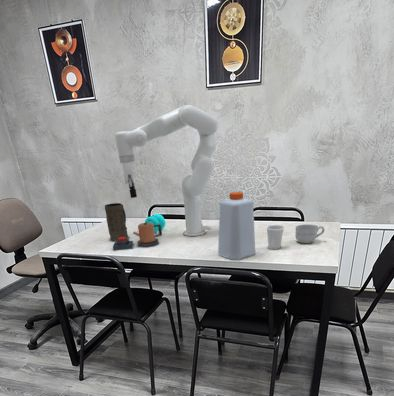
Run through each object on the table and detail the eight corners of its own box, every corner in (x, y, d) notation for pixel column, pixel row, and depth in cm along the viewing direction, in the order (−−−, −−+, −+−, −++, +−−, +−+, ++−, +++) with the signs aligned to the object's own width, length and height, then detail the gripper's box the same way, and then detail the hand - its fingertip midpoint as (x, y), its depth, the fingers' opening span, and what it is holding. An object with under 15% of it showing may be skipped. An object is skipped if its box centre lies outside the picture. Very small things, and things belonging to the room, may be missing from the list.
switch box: (133, 244, 192) (132, 237, 190) (132, 248, 185) (131, 241, 183) (115, 246, 192) (114, 239, 190) (113, 250, 185) (112, 243, 183)
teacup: (293, 244, 174) (294, 228, 170) (295, 238, 182) (297, 223, 178) (322, 245, 169) (324, 229, 165) (323, 239, 178) (325, 223, 174)
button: (126, 239, 188) (125, 236, 187) (125, 241, 185) (125, 238, 184) (119, 240, 188) (118, 237, 187) (118, 242, 185) (117, 239, 184)
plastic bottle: (214, 254, 168) (212, 193, 154) (238, 247, 175) (238, 188, 161) (234, 261, 158) (234, 197, 143) (258, 254, 165) (260, 191, 150)
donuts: (167, 230, 214) (165, 213, 209) (158, 234, 207) (156, 217, 202) (153, 229, 218) (151, 212, 213) (144, 233, 211) (142, 216, 206)
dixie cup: (282, 244, 174) (284, 224, 169) (282, 250, 167) (284, 229, 162) (266, 244, 176) (266, 225, 171) (265, 250, 169) (266, 229, 164)
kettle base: (158, 240, 196) (158, 237, 195) (158, 246, 186) (158, 243, 185) (138, 242, 195) (137, 239, 194) (137, 248, 185) (136, 245, 185)
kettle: (158, 235, 197) (156, 218, 192) (165, 238, 191) (163, 221, 186) (131, 242, 189) (128, 224, 184) (138, 245, 183) (135, 227, 178)
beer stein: (124, 241, 198) (118, 205, 188) (106, 241, 200) (100, 205, 191) (133, 236, 211) (129, 201, 202) (117, 236, 213) (112, 202, 204)
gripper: (120, 159, 181) (127, 195, 190) (118, 161, 168) (126, 200, 178) (135, 157, 181) (141, 194, 191) (133, 159, 168) (140, 199, 178)
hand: (133, 197), depth 184 cm, fingers closed
